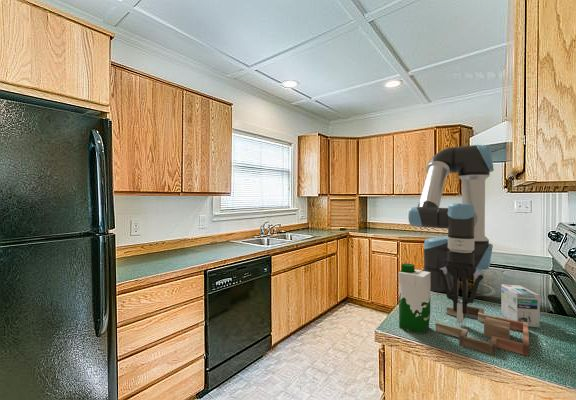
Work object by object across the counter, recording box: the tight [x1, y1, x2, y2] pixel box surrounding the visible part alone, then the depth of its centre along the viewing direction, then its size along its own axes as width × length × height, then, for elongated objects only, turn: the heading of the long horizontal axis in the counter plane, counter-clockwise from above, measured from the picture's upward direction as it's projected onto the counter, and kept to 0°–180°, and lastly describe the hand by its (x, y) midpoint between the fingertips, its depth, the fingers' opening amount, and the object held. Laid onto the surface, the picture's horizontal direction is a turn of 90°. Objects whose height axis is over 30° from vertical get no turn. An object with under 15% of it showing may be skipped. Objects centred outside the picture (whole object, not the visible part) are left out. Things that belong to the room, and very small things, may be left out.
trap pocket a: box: [463, 305, 485, 321], centre depth 104 cm, size 5×8×2 cm, turn 51°
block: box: [483, 317, 511, 340], centre depth 89 cm, size 6×6×4 cm
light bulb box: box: [500, 283, 541, 328], centre depth 100 cm, size 11×7×11 cm, turn 168°
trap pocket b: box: [458, 330, 498, 356], centre depth 82 cm, size 5×8×2 cm, turn 51°
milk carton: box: [397, 263, 432, 335], centre depth 94 cm, size 9×9×20 cm
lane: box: [434, 305, 530, 357], centre depth 92 cm, size 18×23×2 cm
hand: (460, 321), depth 96 cm, fingers closed
